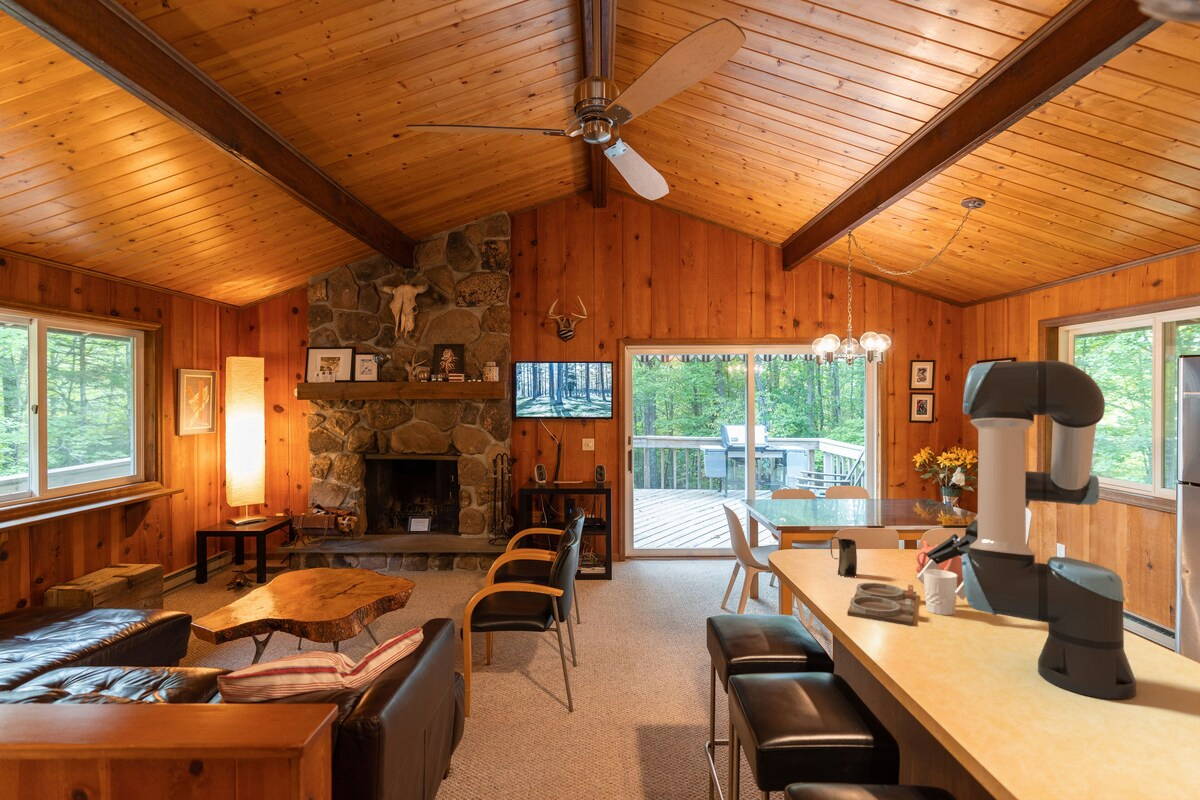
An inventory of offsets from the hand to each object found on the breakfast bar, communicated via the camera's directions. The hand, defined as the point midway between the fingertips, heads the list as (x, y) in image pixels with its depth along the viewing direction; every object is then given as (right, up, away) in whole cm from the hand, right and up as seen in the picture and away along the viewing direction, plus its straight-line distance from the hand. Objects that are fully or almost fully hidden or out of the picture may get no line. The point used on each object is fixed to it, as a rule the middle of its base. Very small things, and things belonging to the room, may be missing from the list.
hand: (938, 587), depth 160 cm
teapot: (+17, -6, +27) cm, 32 cm away
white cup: (0, -6, 0) cm, 6 cm away
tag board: (-13, -6, +4) cm, 15 cm away
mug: (-12, -6, +33) cm, 36 cm away
